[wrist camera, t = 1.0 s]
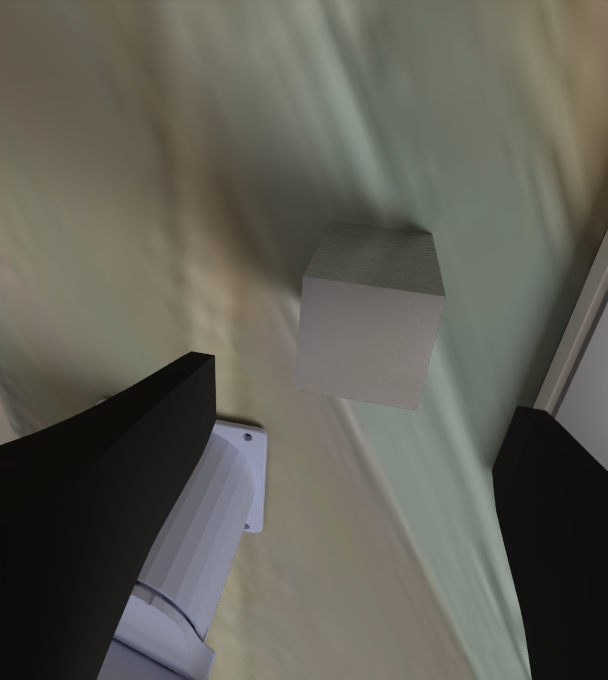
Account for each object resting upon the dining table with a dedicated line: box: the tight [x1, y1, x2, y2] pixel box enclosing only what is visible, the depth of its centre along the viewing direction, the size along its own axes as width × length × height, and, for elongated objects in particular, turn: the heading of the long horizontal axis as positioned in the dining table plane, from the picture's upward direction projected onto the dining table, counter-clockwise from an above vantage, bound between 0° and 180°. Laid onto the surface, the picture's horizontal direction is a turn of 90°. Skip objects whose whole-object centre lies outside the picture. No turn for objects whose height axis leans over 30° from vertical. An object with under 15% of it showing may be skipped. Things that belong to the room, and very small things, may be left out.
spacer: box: [294, 221, 446, 411], centre depth 16 cm, size 4×4×6 cm
